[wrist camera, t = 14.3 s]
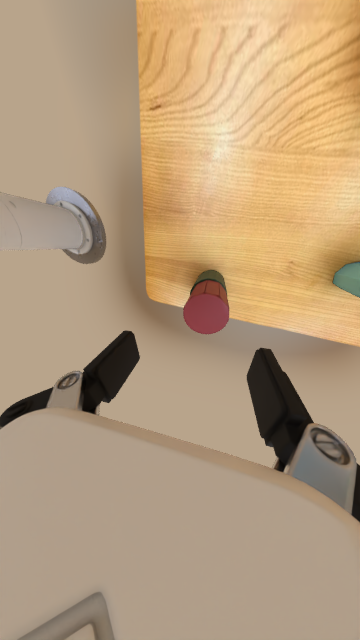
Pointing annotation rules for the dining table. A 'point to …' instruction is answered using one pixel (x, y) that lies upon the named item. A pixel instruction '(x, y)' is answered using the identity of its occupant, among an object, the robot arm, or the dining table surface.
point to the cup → (349, 278)
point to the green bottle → (210, 278)
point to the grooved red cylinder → (207, 308)
